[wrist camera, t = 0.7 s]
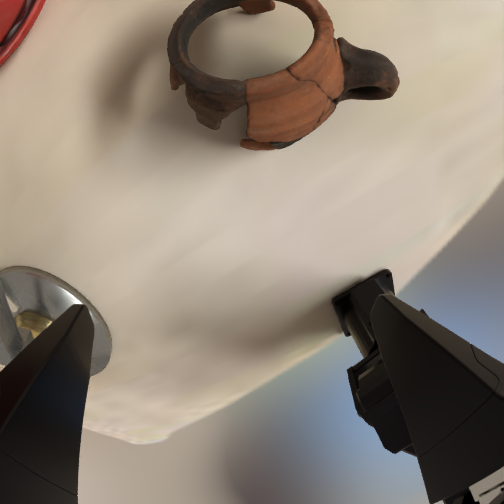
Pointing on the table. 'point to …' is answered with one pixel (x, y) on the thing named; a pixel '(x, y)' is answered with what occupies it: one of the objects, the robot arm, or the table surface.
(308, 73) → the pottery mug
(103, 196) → the table surface
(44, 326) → the lever valve handle
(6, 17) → the plant pot
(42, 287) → the spindle flange
